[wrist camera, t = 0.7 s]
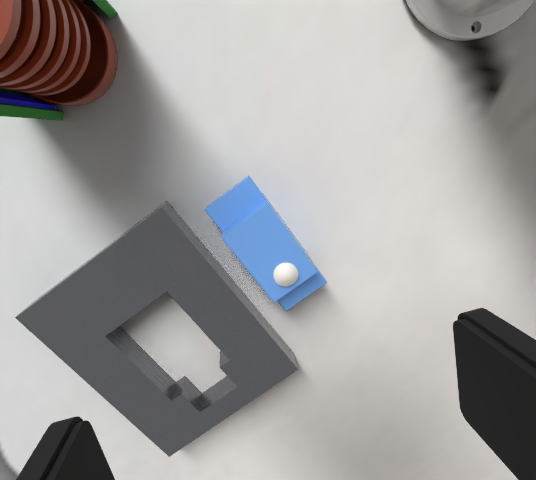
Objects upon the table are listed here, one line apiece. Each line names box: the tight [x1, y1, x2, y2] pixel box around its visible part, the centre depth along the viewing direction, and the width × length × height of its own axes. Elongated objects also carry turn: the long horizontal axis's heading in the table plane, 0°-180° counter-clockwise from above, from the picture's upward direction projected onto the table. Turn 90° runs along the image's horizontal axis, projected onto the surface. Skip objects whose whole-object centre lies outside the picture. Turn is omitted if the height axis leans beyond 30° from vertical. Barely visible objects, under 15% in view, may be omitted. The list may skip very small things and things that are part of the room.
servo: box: [205, 176, 327, 311], centre depth 31 cm, size 4×12×6 cm, turn 36°
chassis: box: [15, 201, 298, 457], centre depth 34 cm, size 16×20×3 cm
